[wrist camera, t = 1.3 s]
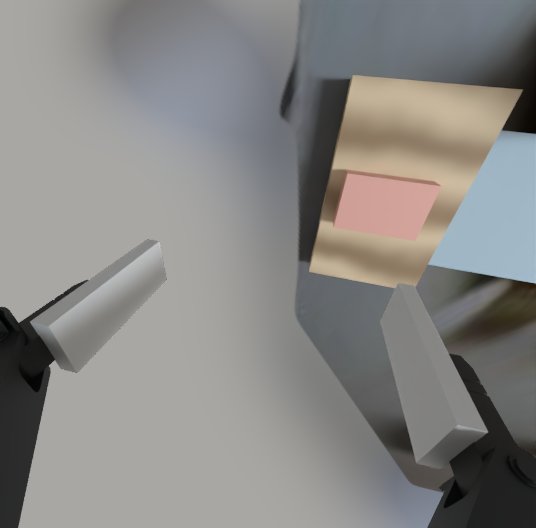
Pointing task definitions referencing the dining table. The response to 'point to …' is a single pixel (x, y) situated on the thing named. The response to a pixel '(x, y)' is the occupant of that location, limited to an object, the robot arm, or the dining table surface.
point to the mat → (497, 215)
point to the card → (384, 204)
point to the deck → (406, 167)
